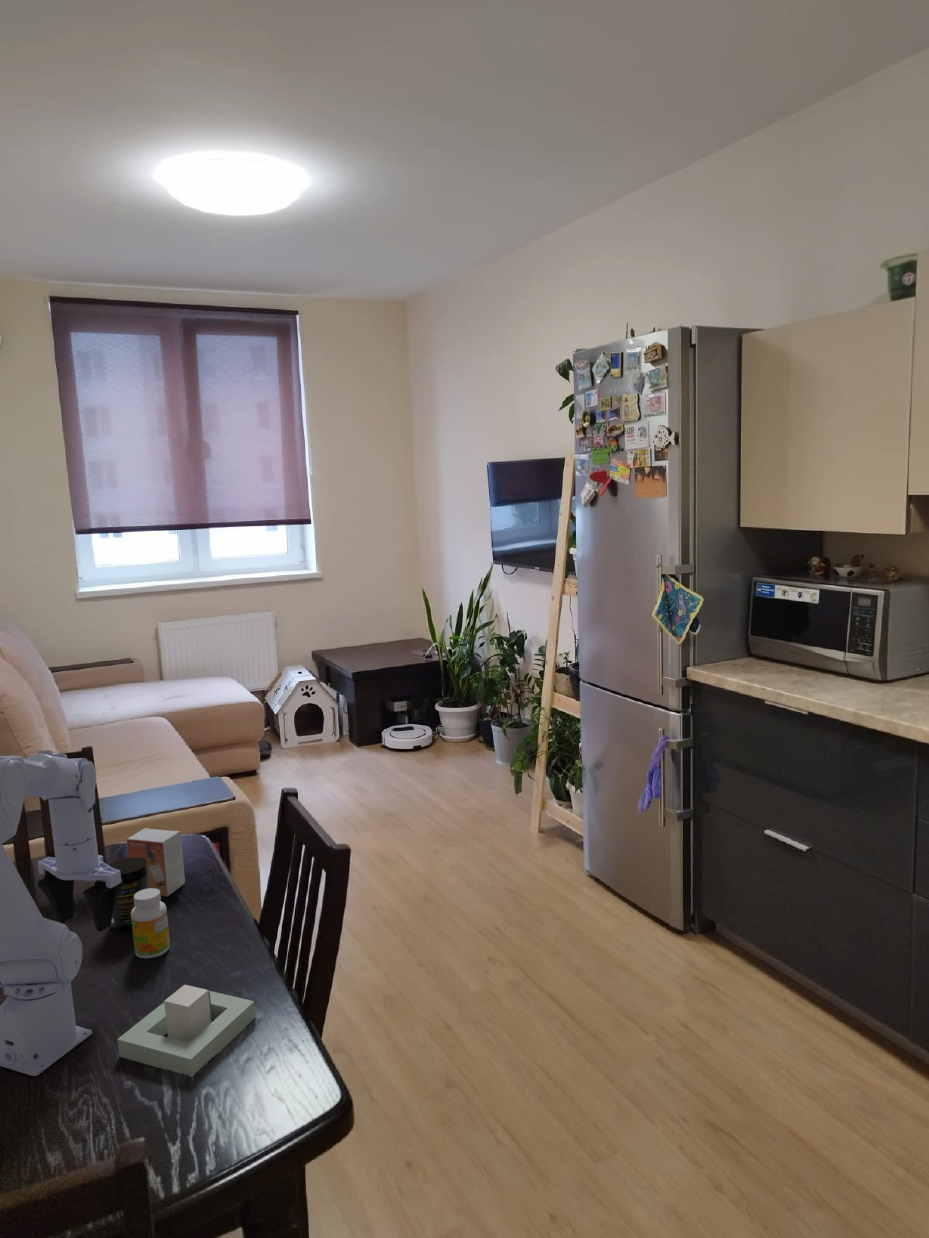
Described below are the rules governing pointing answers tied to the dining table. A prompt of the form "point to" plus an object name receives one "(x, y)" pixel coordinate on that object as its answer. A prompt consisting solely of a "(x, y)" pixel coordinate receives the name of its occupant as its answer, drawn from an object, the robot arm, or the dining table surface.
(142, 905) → the supplement bottle
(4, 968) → the robot arm
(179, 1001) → the plug
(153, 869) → the small box
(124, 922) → the supplement container
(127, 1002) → the dining table surface
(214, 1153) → the dining table surface
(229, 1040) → the socket board
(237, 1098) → the dining table surface
